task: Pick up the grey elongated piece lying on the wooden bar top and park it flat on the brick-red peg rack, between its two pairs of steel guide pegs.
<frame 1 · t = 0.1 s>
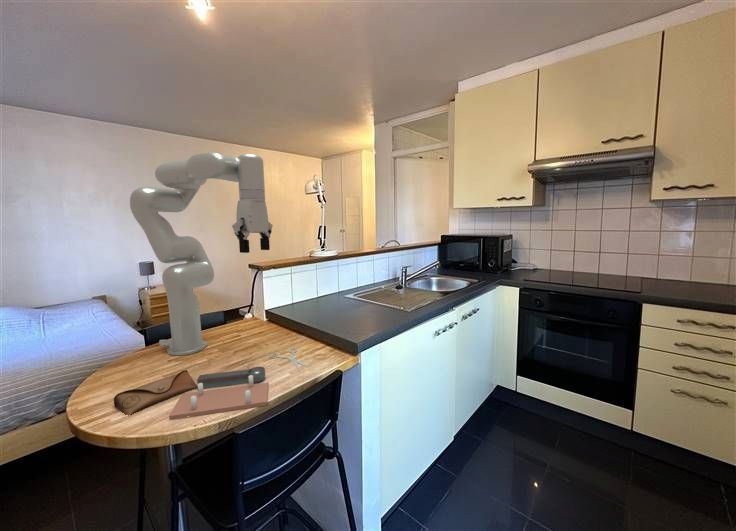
hand: (255, 251, 99), 37 cm above the table, tool pointing down, fingers open, 9 cm apart
scissors: (292, 361, 105), on the table
sunglasses case: (160, 398, 84), on the table
peg rack: (223, 401, 81), on the table
grey elongated piece: (225, 383, 90), on the table
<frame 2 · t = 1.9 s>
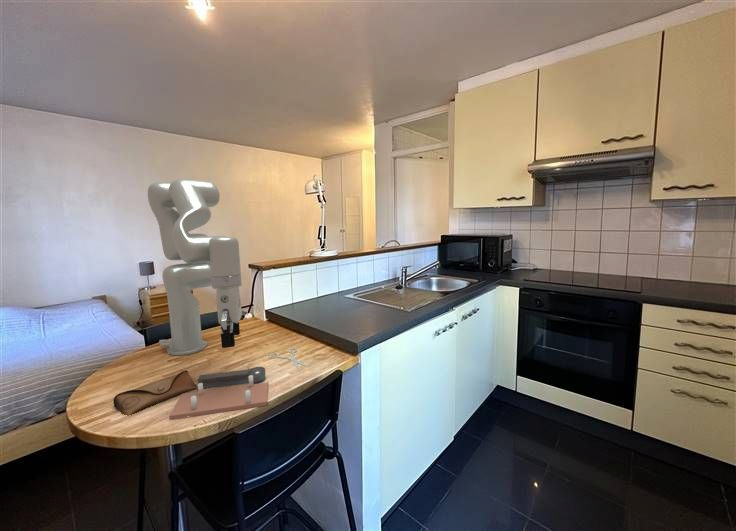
hand: (231, 340, 88), 13 cm above the table, tool pointing down, fingers open, 9 cm apart
nothing on the table moved.
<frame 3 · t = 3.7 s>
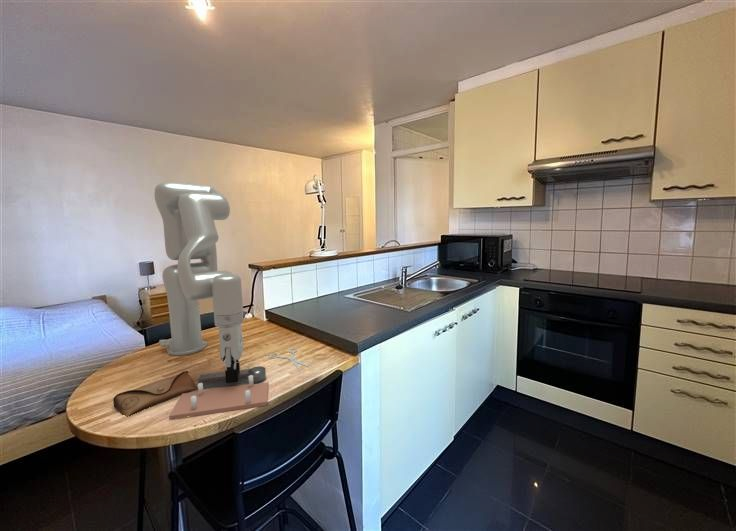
hand: (233, 378, 90), 1 cm above the table, tool pointing down, fingers closed on grey elongated piece, 2 cm apart
grey elongated piece: (226, 383, 90), on the table, touching gripper
everything else where it was.
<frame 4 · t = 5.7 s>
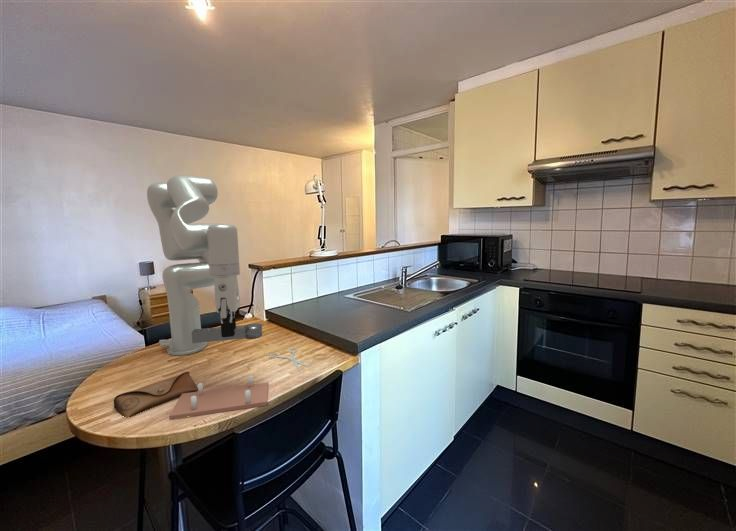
hand: (229, 333, 87), 15 cm above the table, tool pointing down, fingers closed on grey elongated piece, 2 cm apart
grey elongated piece: (221, 338, 87), point 14 cm above the table, touching gripper
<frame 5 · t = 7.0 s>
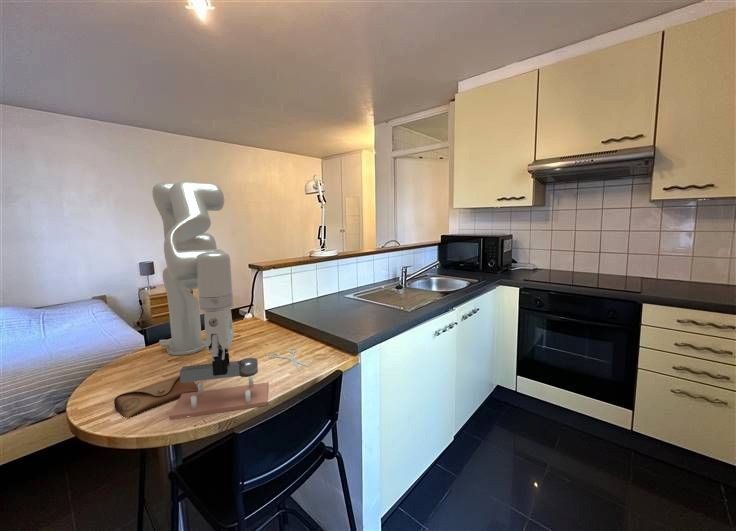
hand: (221, 370, 79), 9 cm above the table, tool pointing down, fingers closed on grey elongated piece, 2 cm apart
grey elongated piece: (212, 376, 79), point 7 cm above the table, touching gripper
when the fingers open (4 cm above the table, at t = 8.1 s): grey elongated piece drops 2 cm, resting on peg rack.
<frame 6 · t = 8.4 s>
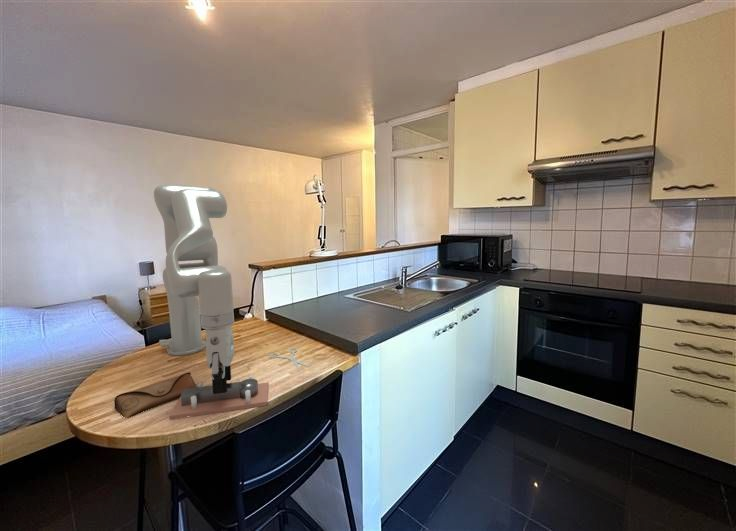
hand: (222, 385, 80), 4 cm above the table, tool pointing down, fingers open, 5 cm apart
grey elongated piece: (213, 398, 80), point 1 cm above the table, touching peg rack
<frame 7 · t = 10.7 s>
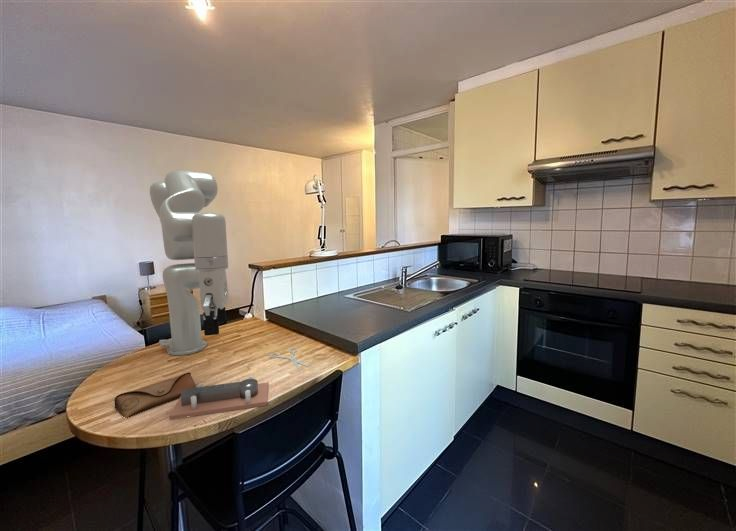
hand: (216, 327, 81), 19 cm above the table, tool pointing down, fingers open, 9 cm apart
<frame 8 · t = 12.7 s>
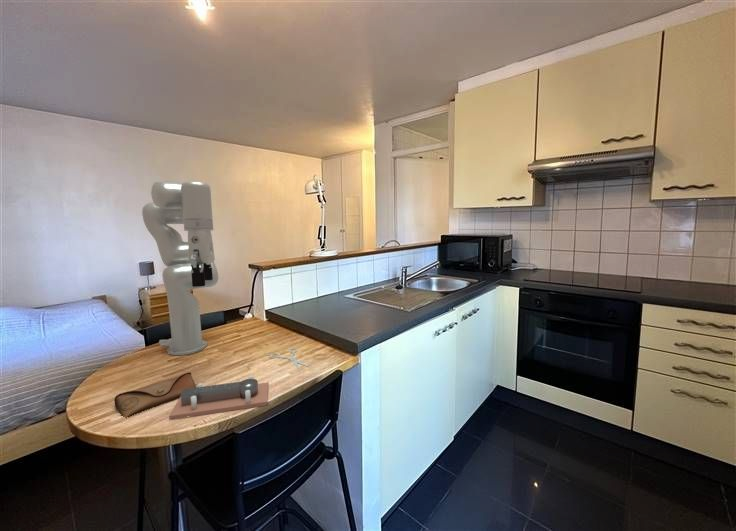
hand: (203, 283, 93), 28 cm above the table, tool pointing down, fingers open, 9 cm apart
at the end: grey elongated piece 0.3 cm from the target spot on the peg rack, point 1.0 cm above the peg rack's base; grey elongated piece tilted 0°; the gripper is holding nothing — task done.
